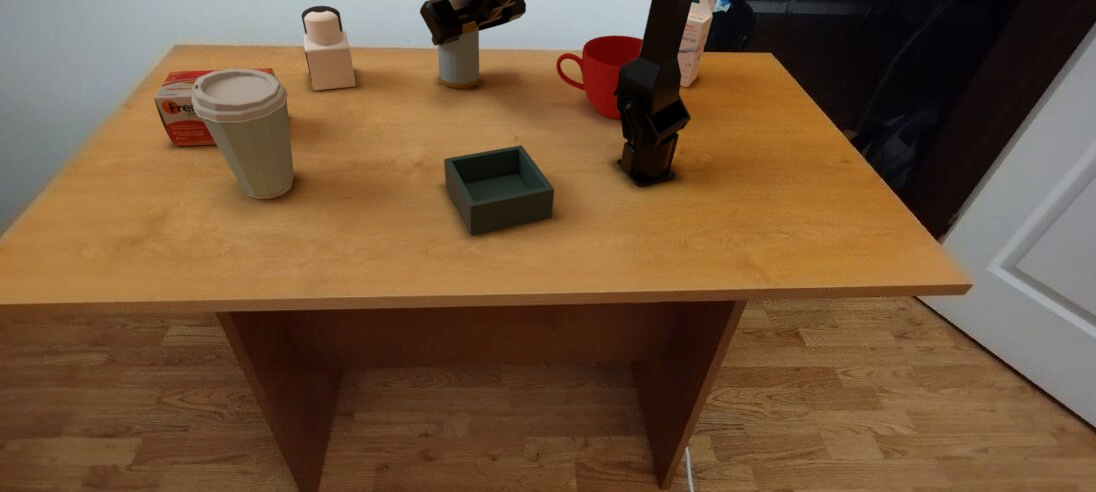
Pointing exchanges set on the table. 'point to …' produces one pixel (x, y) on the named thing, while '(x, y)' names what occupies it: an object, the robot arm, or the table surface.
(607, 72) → the ceramic cup
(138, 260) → the table surface
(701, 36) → the ink cartridge box
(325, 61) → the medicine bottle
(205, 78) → the disposable coffee cup
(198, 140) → the medicine box
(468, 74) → the bottle
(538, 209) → the box
